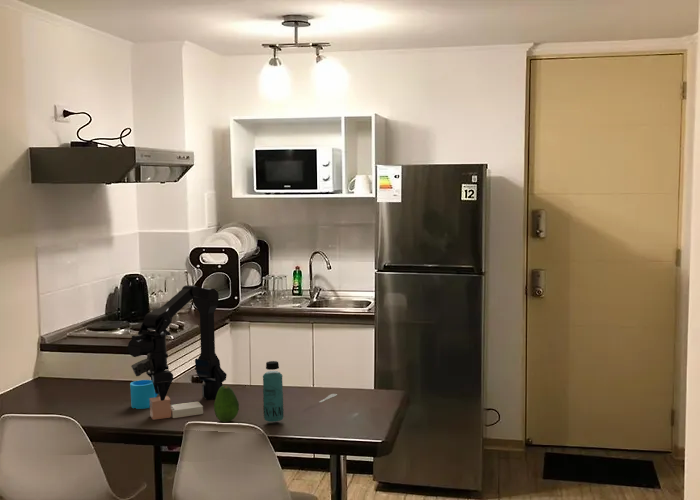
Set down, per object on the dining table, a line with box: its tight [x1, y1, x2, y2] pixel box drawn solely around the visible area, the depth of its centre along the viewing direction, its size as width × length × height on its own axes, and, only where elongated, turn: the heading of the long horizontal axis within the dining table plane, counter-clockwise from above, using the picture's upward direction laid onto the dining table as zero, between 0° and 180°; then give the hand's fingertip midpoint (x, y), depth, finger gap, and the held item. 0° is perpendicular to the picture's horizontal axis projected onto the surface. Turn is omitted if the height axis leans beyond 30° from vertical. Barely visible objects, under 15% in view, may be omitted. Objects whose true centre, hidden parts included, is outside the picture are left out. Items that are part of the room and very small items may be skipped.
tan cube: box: [149, 395, 172, 420], centre depth 265 cm, size 6×5×6 cm
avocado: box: [213, 384, 240, 423], centre depth 258 cm, size 8×8×12 cm
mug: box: [129, 379, 159, 410], centre depth 281 cm, size 12×8×8 cm
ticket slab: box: [171, 401, 204, 419], centre depth 269 cm, size 10×7×3 cm
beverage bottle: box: [262, 360, 285, 423], centre depth 254 cm, size 6×7×20 cm
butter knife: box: [318, 393, 338, 403], centre depth 277 cm, size 1×24×3 cm
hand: (160, 397), depth 265 cm, fingers open, 9 cm apart
